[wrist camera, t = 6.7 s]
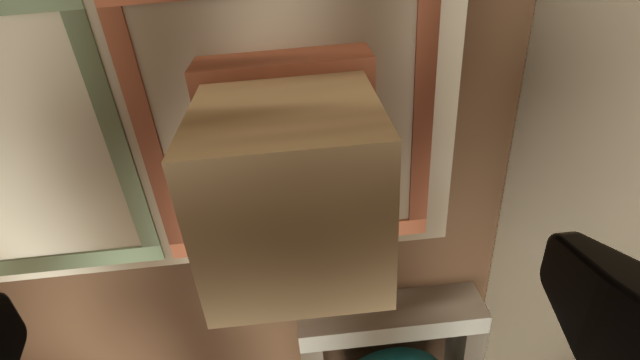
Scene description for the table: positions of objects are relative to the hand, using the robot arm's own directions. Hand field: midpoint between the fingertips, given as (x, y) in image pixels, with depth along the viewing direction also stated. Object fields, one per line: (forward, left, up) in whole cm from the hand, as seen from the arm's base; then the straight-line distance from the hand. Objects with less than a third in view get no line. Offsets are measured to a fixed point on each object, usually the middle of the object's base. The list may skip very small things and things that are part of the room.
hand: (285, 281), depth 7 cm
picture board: (+3, +5, -8) cm, 10 cm away
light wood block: (0, 0, -6) cm, 7 cm away
